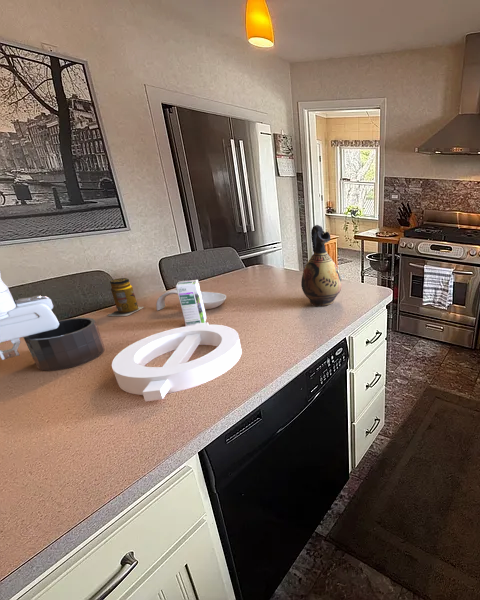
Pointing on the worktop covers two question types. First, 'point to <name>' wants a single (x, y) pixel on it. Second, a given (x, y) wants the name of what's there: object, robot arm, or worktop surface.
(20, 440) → the worktop surface
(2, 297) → the robot arm
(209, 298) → the spoon rest
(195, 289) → the syrup box
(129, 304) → the condiment
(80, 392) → the worktop surface
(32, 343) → the pot
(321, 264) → the ceramic jug
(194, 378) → the white circle with bar
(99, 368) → the worktop surface
